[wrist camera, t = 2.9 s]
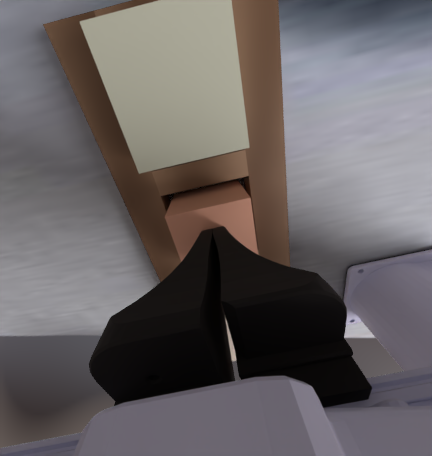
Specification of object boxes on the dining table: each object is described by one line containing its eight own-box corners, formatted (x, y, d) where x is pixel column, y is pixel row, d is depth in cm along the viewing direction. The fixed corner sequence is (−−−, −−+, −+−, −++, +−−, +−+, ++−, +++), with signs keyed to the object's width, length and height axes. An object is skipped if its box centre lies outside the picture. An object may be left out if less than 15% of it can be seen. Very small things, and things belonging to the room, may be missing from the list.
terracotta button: (237, 179, 13) (250, 197, 10) (246, 234, 15) (259, 266, 12) (174, 194, 14) (164, 216, 10) (191, 247, 16) (188, 281, 12)
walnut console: (262, -7, 10) (276, -38, 8) (284, 300, 20) (292, 317, 18) (71, 43, 10) (42, 24, 8) (188, 320, 20) (187, 339, 18)
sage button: (218, 39, 9) (229, -19, 6) (233, 141, 11) (249, 147, 8) (126, 62, 9) (79, 21, 6) (158, 160, 11) (139, 173, 8)
